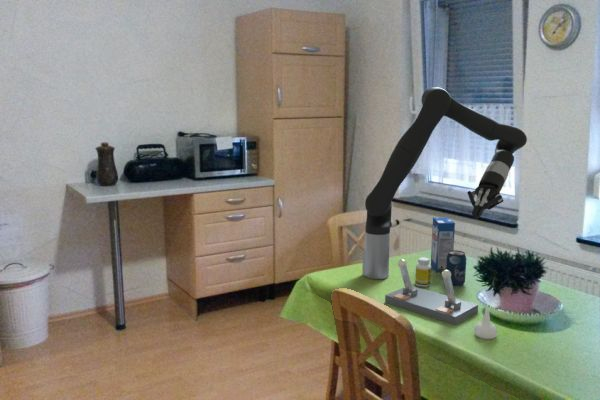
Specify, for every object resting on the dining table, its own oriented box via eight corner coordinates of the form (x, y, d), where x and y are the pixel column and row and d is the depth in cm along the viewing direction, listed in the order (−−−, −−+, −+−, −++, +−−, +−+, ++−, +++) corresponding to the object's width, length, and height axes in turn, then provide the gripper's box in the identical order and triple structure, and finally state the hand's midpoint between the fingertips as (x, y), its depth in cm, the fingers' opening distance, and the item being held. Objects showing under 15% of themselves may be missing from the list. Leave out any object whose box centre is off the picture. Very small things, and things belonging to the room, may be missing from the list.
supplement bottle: (430, 287, 199) (431, 261, 197) (415, 286, 200) (416, 260, 198) (430, 282, 204) (431, 257, 202) (415, 281, 205) (416, 256, 203)
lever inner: (404, 292, 185) (395, 262, 179) (408, 287, 187) (400, 257, 181) (411, 294, 183) (402, 263, 177) (415, 289, 185) (407, 258, 179)
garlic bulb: (469, 335, 161) (469, 309, 159) (484, 328, 164) (484, 303, 162) (486, 343, 155) (486, 317, 153) (501, 337, 158) (502, 311, 156)
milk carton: (452, 273, 215) (455, 223, 211) (436, 273, 215) (438, 223, 211) (446, 265, 225) (448, 217, 221) (430, 265, 225) (432, 217, 221)
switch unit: (385, 302, 185) (385, 289, 184) (409, 291, 194) (409, 280, 194) (455, 324, 166) (455, 311, 166) (477, 312, 176) (478, 299, 175)
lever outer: (446, 305, 174) (439, 272, 168) (450, 299, 176) (443, 267, 170) (454, 307, 172) (447, 274, 166) (458, 302, 174) (452, 269, 168)
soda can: (457, 288, 198) (459, 256, 196) (441, 283, 203) (443, 252, 201) (468, 284, 202) (470, 252, 200) (452, 279, 207) (453, 248, 205)
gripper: (473, 168, 194) (453, 207, 188) (510, 172, 185) (490, 213, 179) (480, 181, 199) (460, 220, 192) (516, 186, 189) (497, 226, 183)
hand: (475, 216), depth 185 cm, fingers closed
